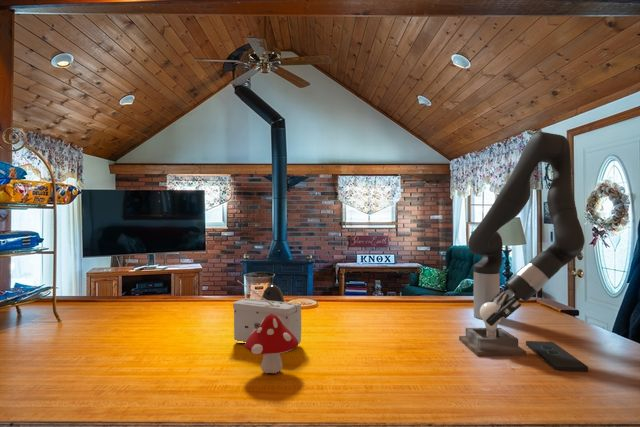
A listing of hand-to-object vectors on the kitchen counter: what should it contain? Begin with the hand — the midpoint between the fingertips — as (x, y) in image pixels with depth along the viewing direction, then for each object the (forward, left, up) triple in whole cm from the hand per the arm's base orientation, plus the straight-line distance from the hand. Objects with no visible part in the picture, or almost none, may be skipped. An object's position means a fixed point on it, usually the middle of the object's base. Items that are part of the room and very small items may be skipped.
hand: (485, 320), depth 118 cm
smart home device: (+8, +16, -9) cm, 20 cm away
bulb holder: (0, +2, -8) cm, 8 cm away
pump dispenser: (-21, -66, -8) cm, 70 cm away
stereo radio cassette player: (-4, -66, -8) cm, 67 cm away
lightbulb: (0, +2, -6) cm, 6 cm away
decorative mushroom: (+17, -62, -8) cm, 65 cm away
